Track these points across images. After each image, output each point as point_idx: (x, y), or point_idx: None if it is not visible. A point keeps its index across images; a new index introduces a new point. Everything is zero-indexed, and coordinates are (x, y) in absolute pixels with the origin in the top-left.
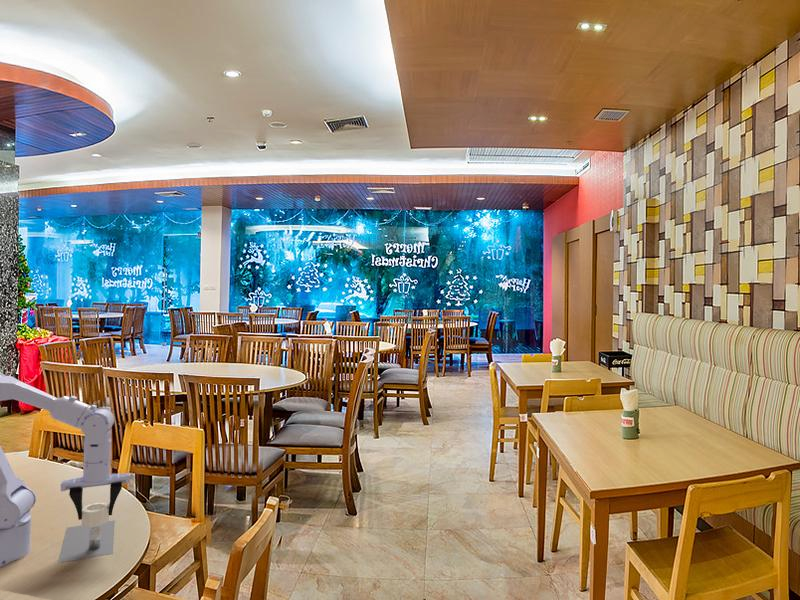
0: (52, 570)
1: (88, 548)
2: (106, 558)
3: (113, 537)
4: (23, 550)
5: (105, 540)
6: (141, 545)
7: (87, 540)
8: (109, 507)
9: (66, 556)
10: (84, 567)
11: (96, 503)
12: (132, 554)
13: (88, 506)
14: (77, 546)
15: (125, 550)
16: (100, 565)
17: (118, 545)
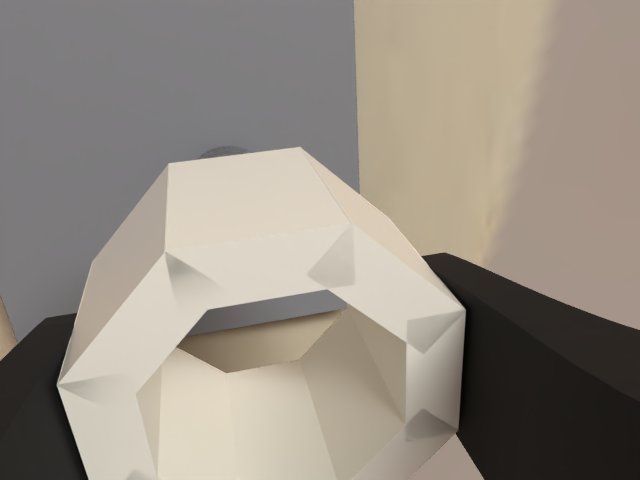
0: (5, 345)
1: None
2: None
3: (351, 29)
4: None
5: (293, 73)
6: (518, 133)
7: (134, 19)
8: (465, 447)
9: (50, 282)
10: (202, 344)
11: (265, 260)
12: (458, 247)
13: (152, 366)
14: (79, 128)
15: (421, 181)
16: (290, 338)
17: (377, 83)
